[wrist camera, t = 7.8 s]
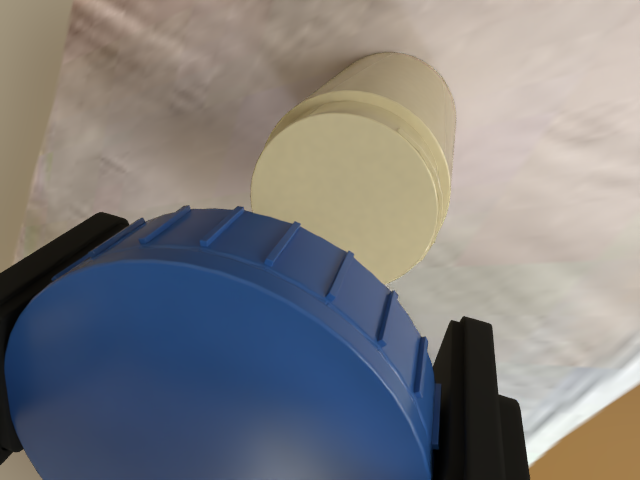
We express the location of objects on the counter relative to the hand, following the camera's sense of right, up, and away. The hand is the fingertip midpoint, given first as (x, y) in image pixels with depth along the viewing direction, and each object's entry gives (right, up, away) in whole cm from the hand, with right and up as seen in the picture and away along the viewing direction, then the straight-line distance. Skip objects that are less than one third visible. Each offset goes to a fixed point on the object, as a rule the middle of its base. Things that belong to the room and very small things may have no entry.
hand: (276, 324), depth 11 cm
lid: (-1, -1, -3) cm, 3 cm away
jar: (+4, +8, +14) cm, 16 cm away
